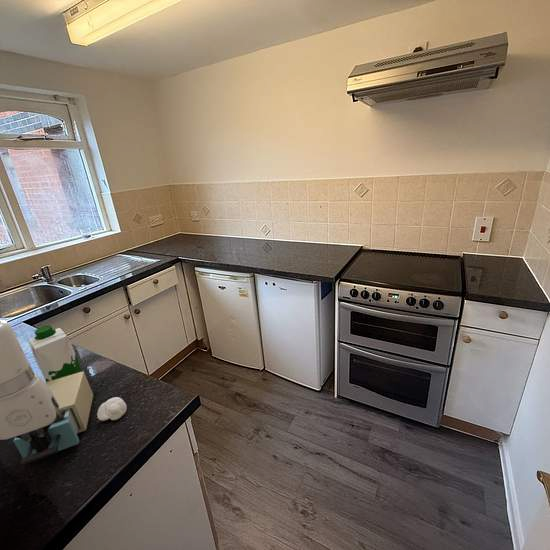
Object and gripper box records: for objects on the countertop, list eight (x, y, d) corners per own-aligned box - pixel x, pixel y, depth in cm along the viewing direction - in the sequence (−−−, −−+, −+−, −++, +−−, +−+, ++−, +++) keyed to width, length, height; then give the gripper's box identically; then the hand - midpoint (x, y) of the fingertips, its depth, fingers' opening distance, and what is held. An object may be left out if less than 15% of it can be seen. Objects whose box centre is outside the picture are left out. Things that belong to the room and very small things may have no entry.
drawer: (74, 461, 66) (63, 439, 63) (17, 483, 62) (3, 460, 60) (86, 407, 81) (78, 387, 78) (41, 422, 77) (31, 402, 75)
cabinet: (85, 430, 75) (74, 403, 72) (30, 449, 71) (16, 422, 68) (93, 395, 87) (83, 371, 83) (46, 410, 83) (34, 385, 80)
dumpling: (125, 403, 82) (124, 393, 81) (128, 418, 79) (127, 408, 77) (95, 412, 79) (94, 401, 77) (97, 428, 75) (96, 417, 73)
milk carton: (81, 374, 96) (58, 320, 89) (90, 386, 90) (67, 329, 83) (49, 390, 90) (22, 333, 83) (56, 403, 85) (28, 344, 77)
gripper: (-50, 408, 53) (-5, 478, 60) (49, 379, 58) (80, 447, 65) (-29, 382, 59) (9, 448, 66) (58, 358, 64) (85, 421, 71)
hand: (44, 447), depth 65 cm, fingers closed
